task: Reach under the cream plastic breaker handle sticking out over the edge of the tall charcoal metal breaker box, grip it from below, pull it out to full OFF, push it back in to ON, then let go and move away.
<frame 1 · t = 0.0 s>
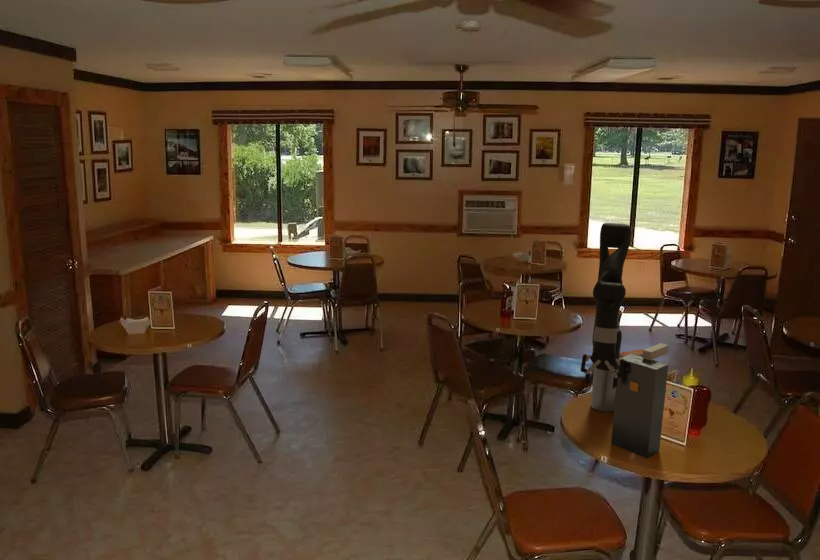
hand: (600, 386, 229), 22 cm above the table, tool pointing down, fingers open, 8 cm apart
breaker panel: (634, 447, 233), on the table
breaker handle: (655, 351, 231), point 34 cm above the table, slide at 2.0 cm
cracker box: (629, 400, 274), on the table
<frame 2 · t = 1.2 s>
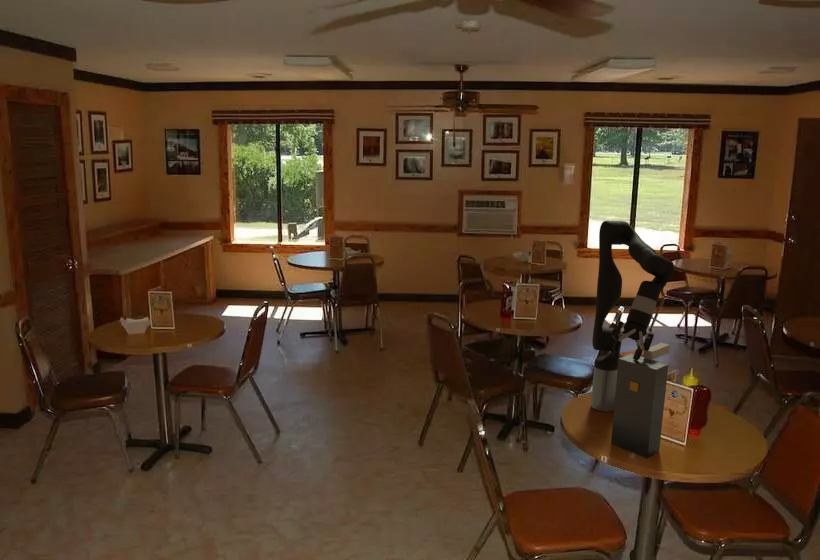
hand: (624, 355, 226), 34 cm above the table, tool tilted 25°, fingers open, 8 cm apart
breaker handle: (656, 351, 231), point 34 cm above the table, slide at 2.9 cm, touching gripper, hand
everything else where it was.
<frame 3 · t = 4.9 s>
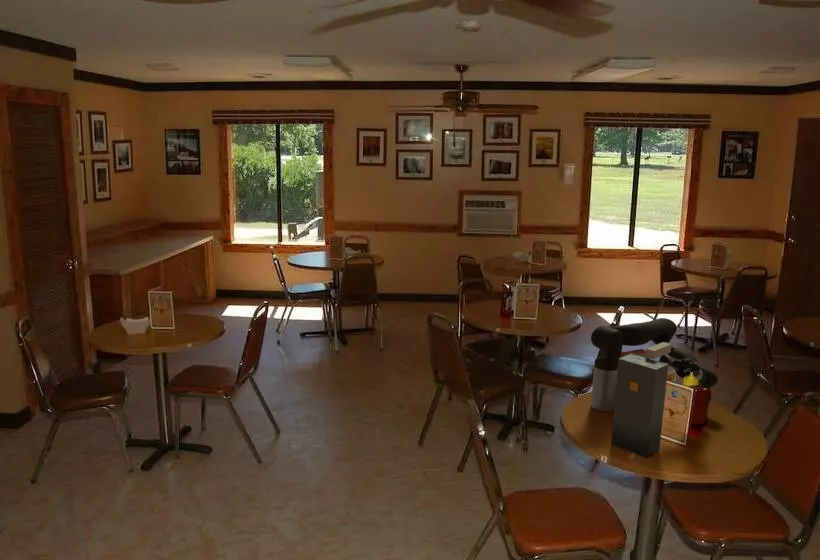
hand: (673, 359, 241), 28 cm above the table, tool pointing upward, fingers open, 8 cm apart
breaker handle: (658, 350, 232), point 34 cm above the table, slide at 4.1 cm
everything else where it was.
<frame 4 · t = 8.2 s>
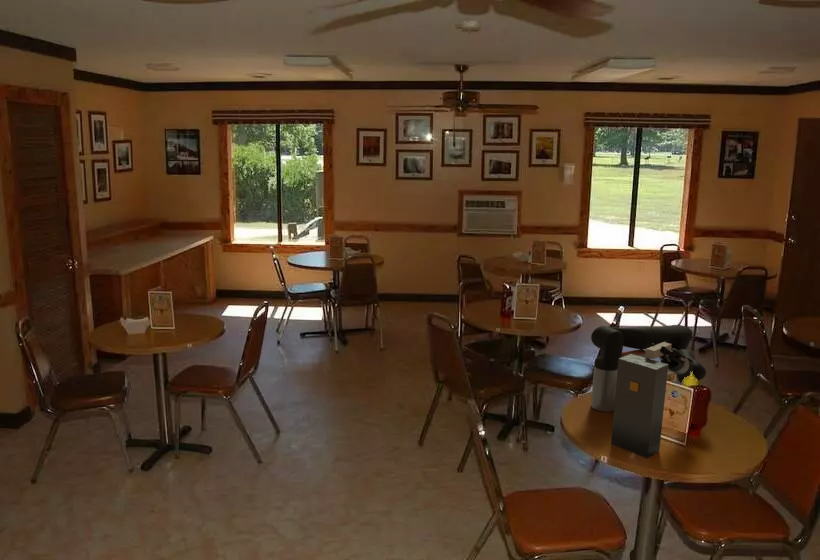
hand: (656, 347, 231), 35 cm above the table, tool pointing upward, fingers closed on breaker handle, 3 cm apart
breaker handle: (658, 350, 232), point 34 cm above the table, slide at 4.1 cm, touching gripper
everything else where it was.
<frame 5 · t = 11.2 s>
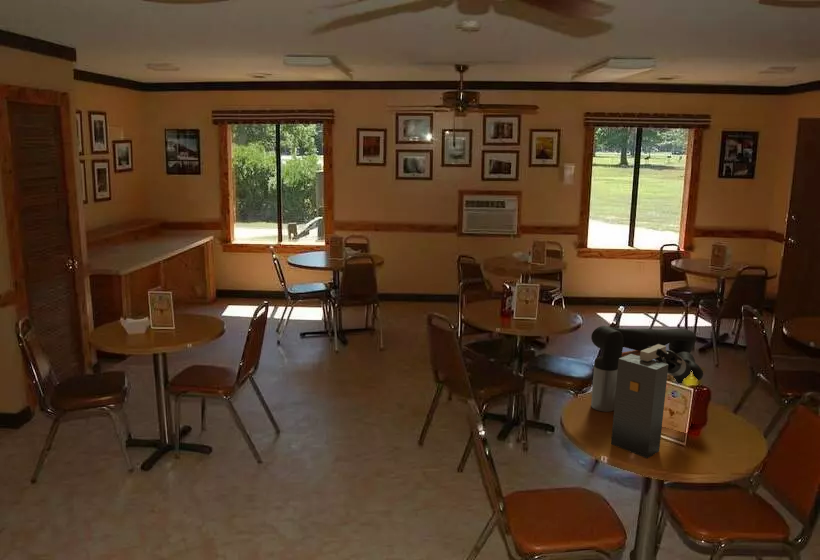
hand: (653, 350, 229), 35 cm above the table, tool pointing upward, fingers closed on breaker handle, 3 cm apart
breaker handle: (653, 352, 230), point 34 cm above the table, slide at 0.3 cm, touching gripper
cracker box: (629, 400, 274), on the table, touching arm
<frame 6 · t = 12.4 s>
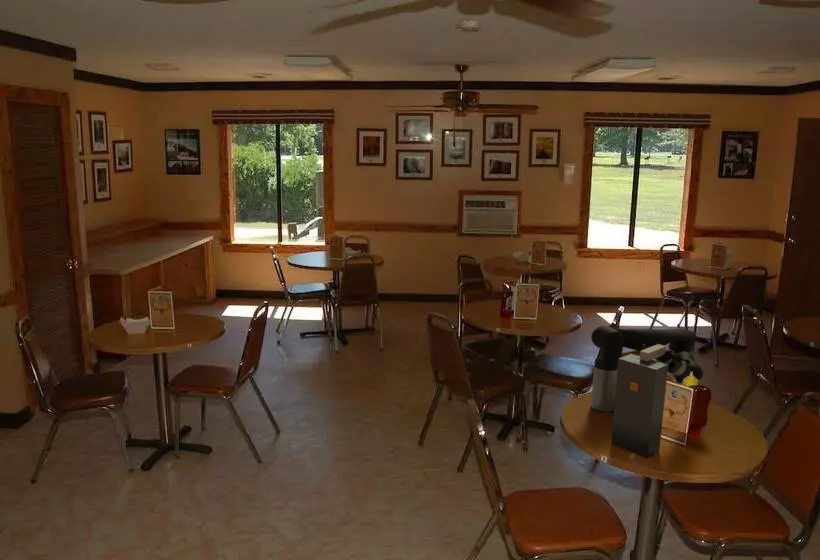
hand: (654, 350, 230), 35 cm above the table, tool pointing upward, fingers open, 8 cm apart
breaker handle: (653, 352, 230), point 34 cm above the table, slide at 0.2 cm
everything else where it was.
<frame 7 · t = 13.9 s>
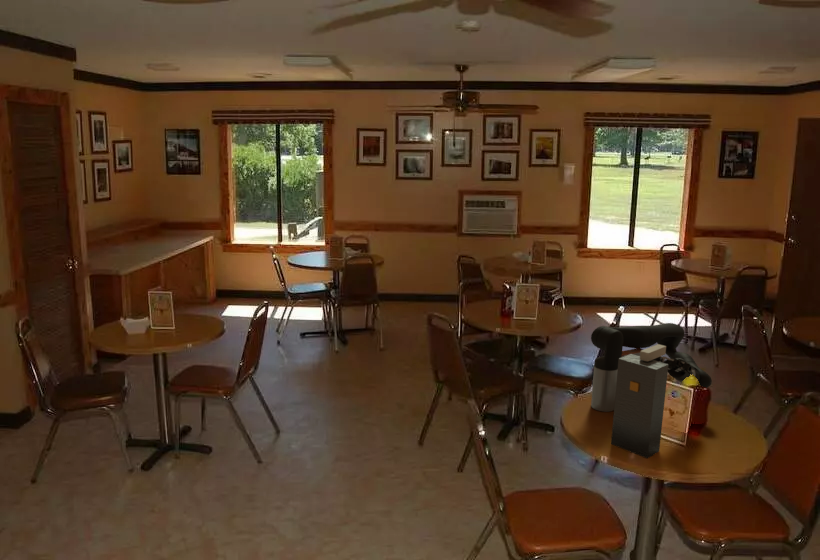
hand: (664, 358, 236), 30 cm above the table, tool pointing upward, fingers open, 8 cm apart
cracker box: (629, 400, 274), on the table
everything else where it was.
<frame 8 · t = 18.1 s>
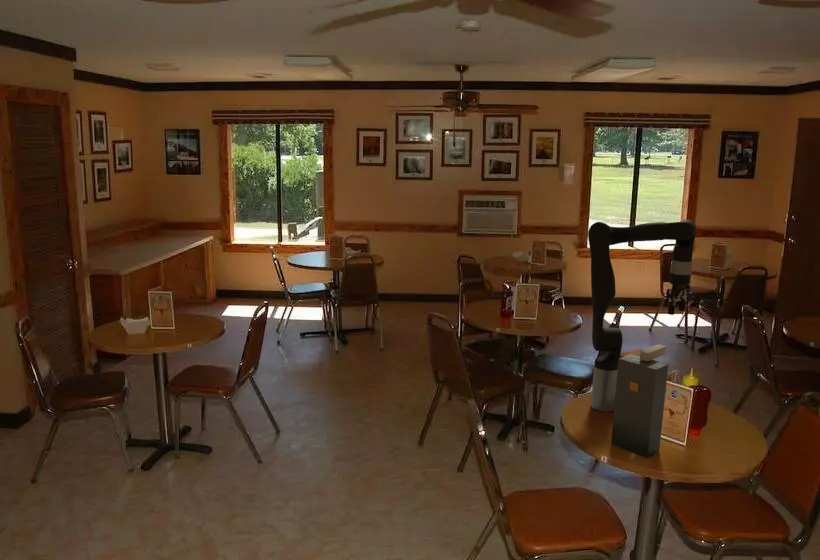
hand: (676, 312, 258), 40 cm above the table, tool pointing down, fingers open, 8 cm apart
at the end: breaker handle slide at 0.2 cm; the gripper is holding nothing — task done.
